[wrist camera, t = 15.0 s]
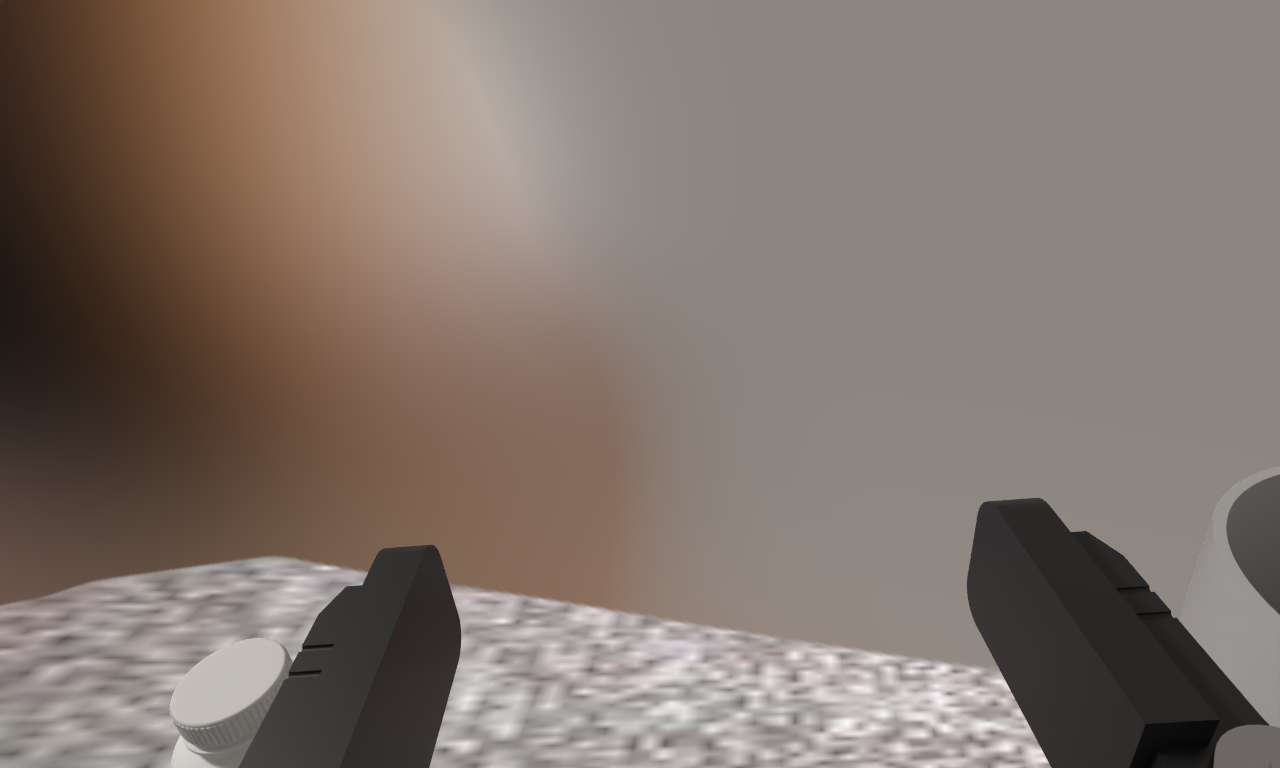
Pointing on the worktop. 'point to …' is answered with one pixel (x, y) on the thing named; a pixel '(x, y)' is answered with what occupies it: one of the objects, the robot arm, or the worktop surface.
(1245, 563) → the cylinder vase
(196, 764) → the pill bottle
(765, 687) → the worktop surface
